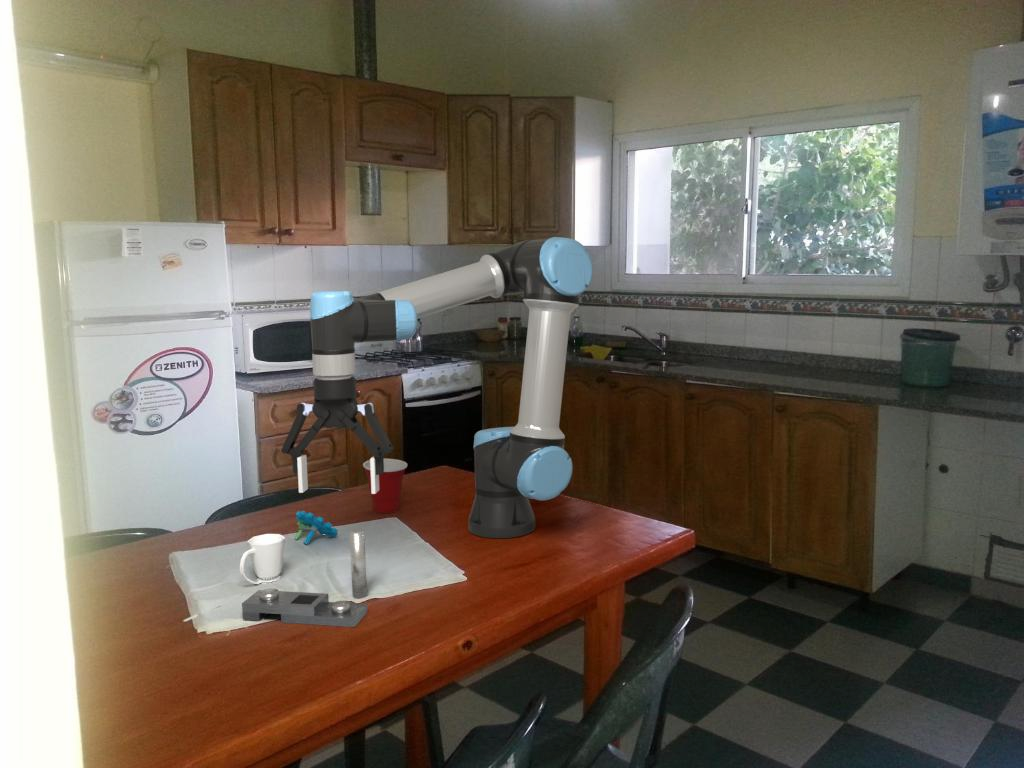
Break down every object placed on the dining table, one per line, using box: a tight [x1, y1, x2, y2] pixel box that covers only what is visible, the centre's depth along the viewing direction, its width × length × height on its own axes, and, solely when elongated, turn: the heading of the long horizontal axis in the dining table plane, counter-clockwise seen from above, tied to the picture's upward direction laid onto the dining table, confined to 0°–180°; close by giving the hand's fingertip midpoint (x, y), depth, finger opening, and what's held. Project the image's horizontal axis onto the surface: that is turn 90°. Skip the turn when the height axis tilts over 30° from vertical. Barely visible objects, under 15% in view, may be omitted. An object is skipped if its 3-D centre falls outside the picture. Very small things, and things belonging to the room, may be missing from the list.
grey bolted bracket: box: [241, 588, 368, 628], centre depth 142 cm, size 20×6×4 cm, turn 80°
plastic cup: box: [362, 458, 408, 514], centre depth 204 cm, size 11×11×12 cm
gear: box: [294, 510, 338, 544], centre depth 182 cm, size 11×6×10 cm
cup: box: [239, 533, 286, 585], centre depth 158 cm, size 7×10×8 cm
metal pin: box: [349, 529, 368, 599], centre depth 150 cm, size 3×3×12 cm
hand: (339, 491), depth 153 cm, fingers open, 13 cm apart
